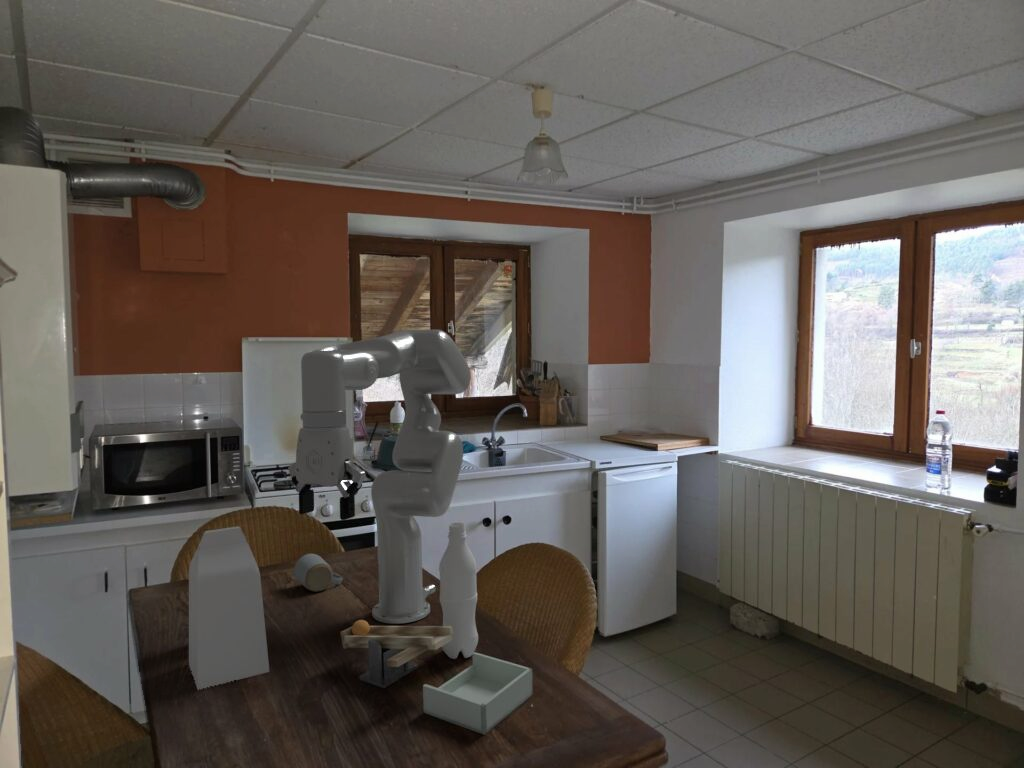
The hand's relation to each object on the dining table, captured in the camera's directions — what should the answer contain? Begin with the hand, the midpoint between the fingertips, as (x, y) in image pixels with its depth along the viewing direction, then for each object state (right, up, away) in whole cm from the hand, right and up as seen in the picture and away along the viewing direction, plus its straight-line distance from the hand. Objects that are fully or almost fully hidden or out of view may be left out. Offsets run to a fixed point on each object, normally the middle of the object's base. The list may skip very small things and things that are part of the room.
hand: (326, 515), depth 125 cm
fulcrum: (+11, -29, 0) cm, 31 cm away
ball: (+5, -22, +4) cm, 23 cm away
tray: (+28, -29, -11) cm, 42 cm away
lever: (+11, -23, -4) cm, 26 cm away
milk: (-19, -29, +3) cm, 35 cm away
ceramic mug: (-14, -26, +46) cm, 55 cm away
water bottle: (+23, -28, +8) cm, 37 cm away
